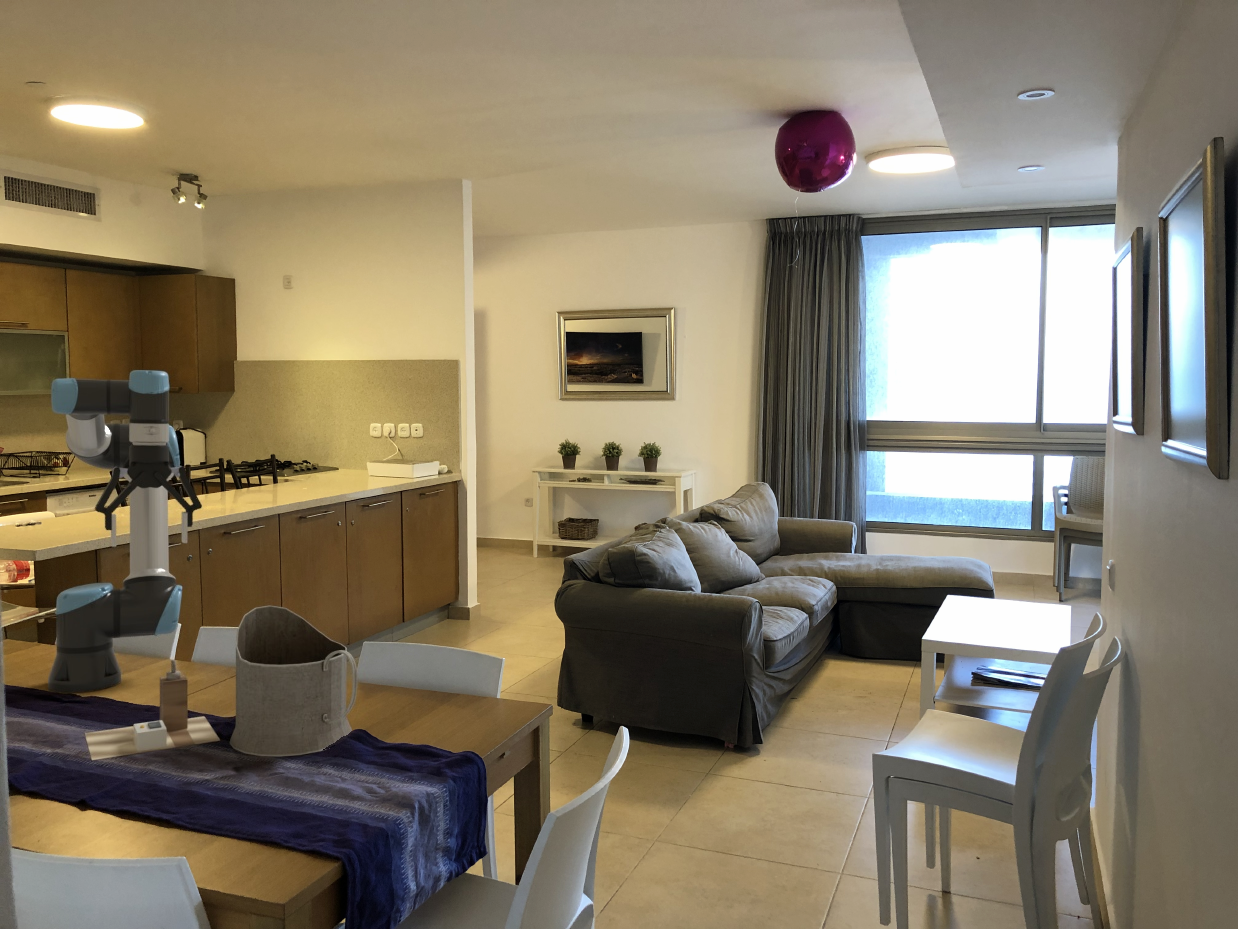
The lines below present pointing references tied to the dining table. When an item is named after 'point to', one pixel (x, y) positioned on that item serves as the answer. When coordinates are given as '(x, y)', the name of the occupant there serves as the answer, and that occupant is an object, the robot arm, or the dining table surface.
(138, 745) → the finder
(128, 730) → the subfloor panel
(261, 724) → the pitcher
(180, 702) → the brown upright block
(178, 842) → the dining table surface
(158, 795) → the dining table surface
